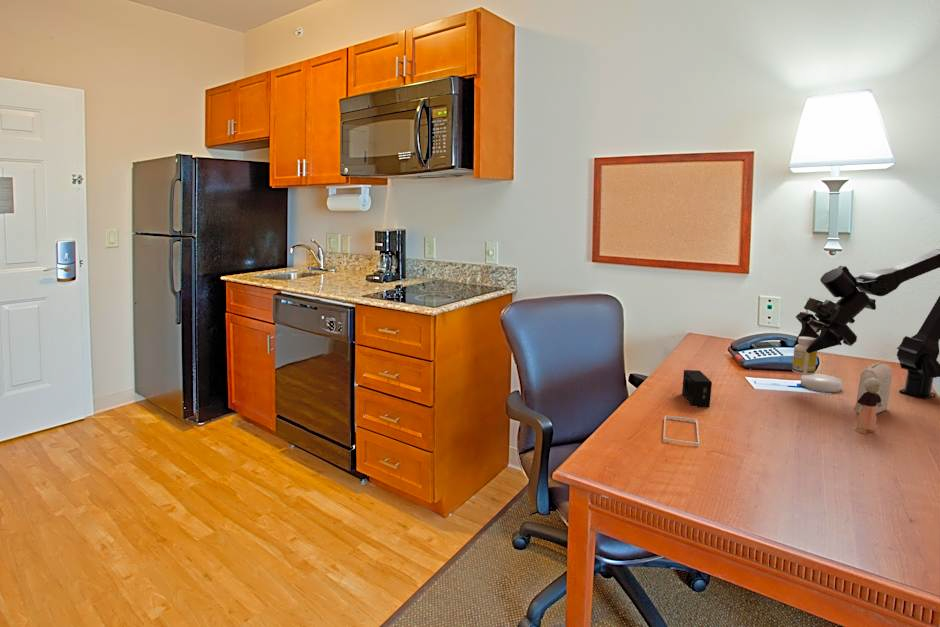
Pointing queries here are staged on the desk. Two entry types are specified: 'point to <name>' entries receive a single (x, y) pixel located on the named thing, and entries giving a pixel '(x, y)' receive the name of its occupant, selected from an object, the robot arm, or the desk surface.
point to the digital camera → (696, 388)
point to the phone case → (681, 420)
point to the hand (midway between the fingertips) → (800, 349)
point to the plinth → (821, 382)
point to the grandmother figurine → (868, 406)
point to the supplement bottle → (804, 357)
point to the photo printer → (883, 375)
